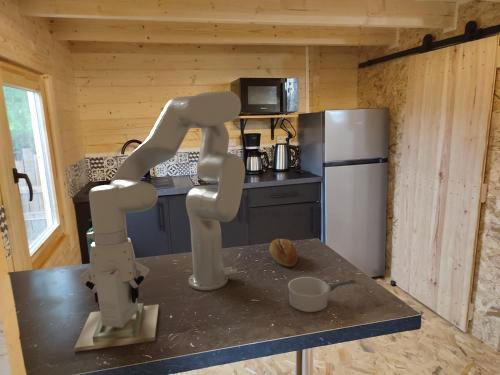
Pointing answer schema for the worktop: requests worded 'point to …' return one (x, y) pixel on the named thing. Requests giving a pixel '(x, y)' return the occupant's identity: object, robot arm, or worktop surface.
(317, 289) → the saucepan
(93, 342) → the nest board
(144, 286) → the worktop surface
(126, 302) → the skincare box
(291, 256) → the bread roll
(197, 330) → the worktop surface
